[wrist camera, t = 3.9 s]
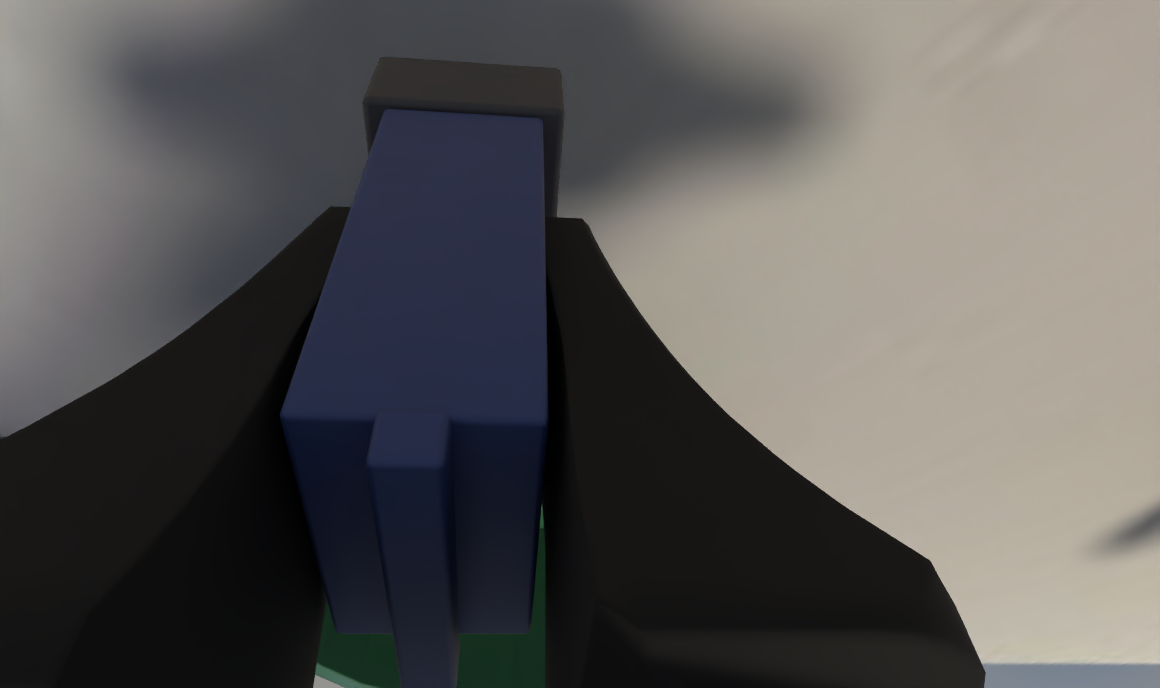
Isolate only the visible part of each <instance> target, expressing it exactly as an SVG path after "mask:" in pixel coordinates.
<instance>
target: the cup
mask: <svg viewBox="0 0 1160 688" xmlns="http://www.w3.org/2000/svg"><path fill="white" fill-rule="evenodd" d="M459 635H460V651H459V664H458V677H457V686H456V688H545V539H544V520H543V510H542V507H541V518H540V530H539V542H538V553H537V565H536V577H535V588H534V600H533V612H532V623H531V629H530V631H529V632H528V633H525V634H459ZM315 675H317V676H320V677H322V678H324V679H327V680H329V681H331V682H333V683H336V684H338V685H340V686H342V687H345V688H401V684H400V678H399V671H398V665H397V659H396V652H395V646H394V640H393V634H340V633H337V632H335V629H334V625H333V621H332V617H331V613H330V609H329V605H328V602H326V608H325V614H324V620H323V627H322V633H321V639H320V646H319V652H318V659H317V665H316V671H315Z"/></svg>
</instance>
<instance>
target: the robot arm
mask: <svg viewBox="0 0 1160 688" xmlns="http://www.w3.org/2000/svg"><path fill="white" fill-rule="evenodd" d="M350 209H351V207H333V206H330V207H329V208H328V209H327V210H326V211H325V212H324V213H322V214H321V215H320V216H319V217H318V218H317V219H316V220H315V221H314V222H312V223H311V224H310V225H309V226H308V227H307V228H306V229H305V230H304V231H303V232H302V233H301V234H299V235H298V236H297V237H296V238H295V239H294V240H293V241H292V242H291V243H290V244H289V245H288V246H287V247H285V248H284V249H283V250H282V251H281V252H280V253H279V254H278V255H277V256H276V257H275V258H274V259H272V260H271V261H270V262H269V263H268V264H267V265H266V266H265V267H263V268H262V269H261V270H260V271H259V272H258V273H257V274H255V275H254V276H253V277H252V278H251V279H250V280H249V281H247V282H246V283H245V284H244V285H243V286H242V287H241V288H239V289H238V290H237V291H236V292H234V293H233V294H232V295H231V296H229V297H228V298H227V299H226V300H224V301H223V302H222V303H220V304H219V305H218V306H217V307H215V308H214V309H213V310H212V311H210V312H209V313H208V314H206V315H205V316H204V317H203V318H201V319H200V320H199V321H198V322H196V323H195V324H194V325H192V326H191V327H190V328H189V329H187V330H186V331H184V332H183V333H182V334H180V335H179V336H178V337H176V338H175V339H173V340H172V341H170V342H169V343H167V344H166V345H165V346H163V347H162V348H160V349H159V350H157V351H156V352H154V353H153V354H151V355H150V356H148V357H147V358H145V359H143V360H142V361H140V362H139V363H137V364H136V365H134V366H132V367H131V368H129V369H128V370H126V371H125V372H123V373H122V374H120V375H118V376H117V377H115V378H113V379H112V380H110V381H108V382H107V383H105V384H103V385H102V386H100V387H98V388H96V389H95V390H93V391H91V392H89V393H87V394H85V395H84V396H82V397H80V398H78V399H76V400H74V401H73V402H71V403H69V404H67V405H65V406H64V407H62V408H60V409H58V410H56V411H54V412H53V413H51V414H49V415H47V416H45V417H43V418H42V419H40V420H38V421H36V422H34V423H32V424H31V425H29V426H27V427H25V428H23V429H21V430H19V431H17V432H15V433H13V434H11V435H9V436H7V437H5V438H3V439H1V440H0V688H313V683H314V678H315V671H316V665H317V659H318V652H319V646H320V639H321V633H322V627H323V620H324V614H325V608H326V602H327V598H326V594H325V590H324V586H323V582H322V579H321V575H320V571H319V567H318V563H317V559H316V555H315V552H314V548H313V544H312V540H311V536H310V532H309V528H308V525H307V521H306V517H305V513H304V509H303V505H302V501H301V498H300V494H299V490H298V486H297V482H296V478H295V474H294V471H293V467H292V463H291V459H290V455H289V451H288V448H287V444H286V440H285V436H284V432H283V428H282V424H281V421H280V416H279V415H280V412H281V409H282V406H283V403H284V401H285V398H286V395H287V392H288V389H289V386H290V383H291V380H292V377H293V374H294V371H295V369H296V366H297V363H298V360H299V357H300V354H301V351H302V348H303V345H304V342H305V339H306V337H307V334H308V331H309V328H310V325H311V322H312V319H313V316H314V313H315V310H316V307H317V305H318V302H319V299H320V296H321V293H322V290H323V287H324V284H325V281H326V278H327V275H328V273H329V270H330V267H331V264H332V261H333V258H334V255H335V252H336V249H337V246H338V243H339V241H340V238H341V235H342V232H343V229H344V226H345V223H346V220H347V217H348V214H349V211H350ZM545 255H546V307H547V359H548V410H549V425H548V437H547V448H546V460H545V472H544V483H543V495H542V510H543V520H544V539H545V688H984V682H985V670H984V668H983V666H982V664H981V661H980V659H979V657H978V655H977V653H976V650H975V648H974V646H973V644H972V641H971V639H970V637H969V635H968V632H967V630H966V627H965V625H964V623H963V621H962V619H961V617H960V615H959V613H958V611H957V608H956V606H955V604H954V602H953V601H952V599H951V597H950V595H949V594H948V592H947V590H946V588H945V587H944V585H943V583H942V582H941V580H940V578H939V576H938V574H937V572H936V571H935V569H934V567H933V565H932V563H931V561H930V560H928V559H927V558H925V557H924V556H922V555H920V554H919V553H917V552H916V551H914V550H913V549H911V548H909V547H908V546H906V545H905V544H903V543H901V542H900V541H898V540H897V539H895V538H894V537H892V536H890V535H889V534H887V533H886V532H884V531H882V530H881V529H879V528H878V527H876V526H875V525H873V524H871V523H870V522H868V521H867V520H865V519H863V518H862V517H860V516H859V515H857V514H856V513H854V512H852V511H851V510H849V509H848V508H846V507H845V506H843V505H842V504H840V503H839V502H837V501H836V500H835V499H833V498H832V497H831V496H829V495H828V494H826V493H825V492H824V491H822V490H821V489H820V488H818V487H817V486H815V485H814V484H813V483H811V482H810V481H809V480H807V479H806V478H804V477H803V476H802V475H800V474H799V473H798V472H796V471H795V470H794V469H792V468H791V467H790V466H789V465H787V464H786V463H785V462H784V461H782V460H781V459H780V458H778V457H777V456H776V455H775V454H773V453H772V452H771V451H770V450H769V449H768V448H766V447H765V446H764V445H763V444H762V443H761V442H759V441H758V440H757V439H756V438H755V437H754V436H752V435H751V434H750V433H749V432H748V431H747V430H745V429H744V428H743V427H742V426H741V425H740V424H738V423H737V422H736V421H735V420H734V419H733V418H731V417H730V416H729V415H728V414H727V413H726V412H725V411H724V410H723V409H722V408H721V407H720V406H719V405H718V404H717V403H716V402H715V401H714V400H713V399H712V398H711V397H710V396H709V395H708V394H707V393H706V392H705V391H704V390H703V389H702V388H701V387H700V386H699V385H698V383H697V382H696V381H695V380H694V379H693V378H692V377H691V376H690V375H689V374H688V373H687V371H686V370H685V369H684V368H683V367H682V366H681V365H680V363H679V362H678V361H677V360H676V359H675V357H674V356H673V355H672V354H671V353H670V351H669V350H668V349H667V348H666V346H665V345H664V344H663V343H662V341H661V340H660V339H659V338H658V336H657V335H656V334H655V332H654V331H653V330H652V329H651V327H650V326H649V324H648V323H647V322H646V320H645V319H644V318H643V316H642V315H641V313H640V312H639V311H638V309H637V308H636V306H635V305H634V303H633V302H632V300H631V299H630V297H629V296H628V294H627V293H626V291H625V290H624V288H623V287H622V285H621V284H620V282H619V281H618V279H617V277H616V276H615V274H614V272H613V271H612V269H611V267H610V266H609V264H608V262H607V260H606V259H605V257H604V255H603V253H602V252H601V250H600V248H599V246H598V244H597V242H596V240H595V238H594V236H593V234H592V232H591V230H590V227H589V226H588V225H587V223H586V222H585V221H584V220H583V219H579V218H559V217H545Z"/></svg>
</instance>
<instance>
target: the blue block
mask: <svg viewBox="0 0 1160 688" xmlns="http://www.w3.org/2000/svg"><path fill="white" fill-rule="evenodd" d="M363 112H364V121H365V130H366V139H367V148H368V159H367V162H366V165H365V168H364V171H363V174H362V177H361V179H360V182H359V185H358V188H357V191H356V194H355V197H354V200H353V203H352V206H351V209H350V211H349V214H348V217H347V220H346V223H345V226H344V229H343V232H342V235H341V238H340V241H339V243H338V246H337V249H336V252H335V255H334V258H333V261H332V264H331V267H330V270H329V273H328V275H327V278H326V281H325V284H324V287H323V290H322V293H321V296H320V299H319V302H318V305H317V307H316V310H315V313H314V316H313V319H312V322H311V325H310V328H309V331H308V334H307V337H306V339H305V342H304V345H303V348H302V351H301V354H300V357H299V360H298V363H297V366H296V369H295V371H294V374H293V377H292V380H291V383H290V386H289V389H288V392H287V395H286V398H285V401H284V403H283V406H282V409H281V412H280V415H279V416H280V421H281V424H282V428H283V432H284V436H285V440H286V444H287V448H288V451H289V455H290V459H291V463H292V467H293V471H294V474H295V478H296V482H297V486H298V490H299V494H300V498H301V501H302V505H303V509H304V513H305V517H306V521H307V525H308V528H309V532H310V536H311V540H312V544H313V548H314V552H315V555H316V559H317V563H318V567H319V571H320V575H321V579H322V582H323V586H324V590H325V594H326V598H327V602H328V605H329V609H330V613H331V617H332V621H333V625H334V629H335V632H337V633H340V634H393V640H394V646H395V652H396V659H397V665H398V671H399V678H400V684H401V688H456V686H457V677H458V664H459V651H460V635H459V634H525V633H528V632H529V631H530V629H531V623H532V612H533V600H534V588H535V577H536V565H537V553H538V542H539V530H540V518H541V507H542V495H543V483H544V472H545V460H546V448H547V437H548V425H549V410H548V359H547V307H546V255H545V217H557V204H558V191H559V178H560V164H561V151H562V138H563V125H564V103H563V88H562V75H561V72H560V70H558V69H556V68H543V67H528V66H513V65H498V64H483V63H468V62H453V61H439V60H424V59H409V58H394V57H382V58H380V59H379V61H378V64H377V66H376V69H375V71H374V74H373V76H372V79H371V81H370V84H369V86H368V89H367V91H366V94H365V96H364V99H363Z"/></svg>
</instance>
